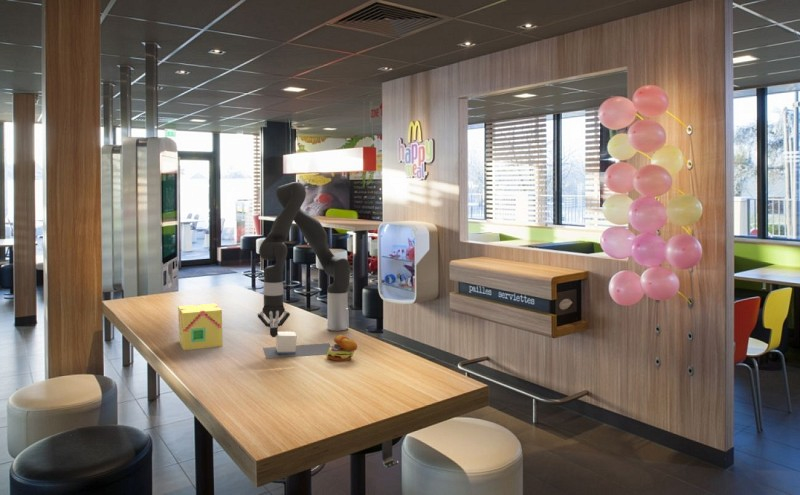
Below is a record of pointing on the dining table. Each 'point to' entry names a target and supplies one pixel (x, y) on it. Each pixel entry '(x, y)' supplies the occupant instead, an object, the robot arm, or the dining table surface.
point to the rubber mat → (299, 351)
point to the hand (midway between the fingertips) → (273, 336)
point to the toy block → (200, 326)
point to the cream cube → (286, 342)
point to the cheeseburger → (342, 349)
